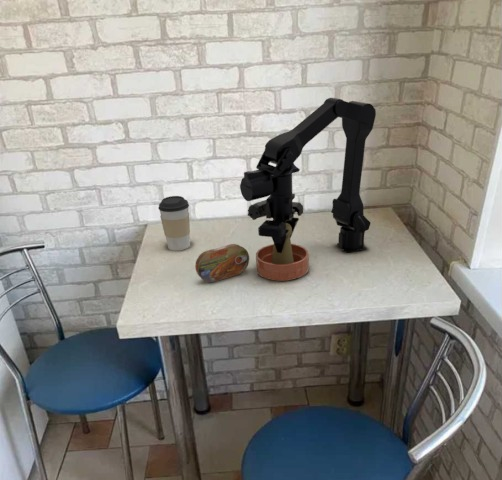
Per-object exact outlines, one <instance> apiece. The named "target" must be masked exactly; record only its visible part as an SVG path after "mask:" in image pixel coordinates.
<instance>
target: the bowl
mask: <svg viewBox="0 0 502 480" xmlns="http://www.w3.org/2000/svg"><path fill="white" fill-rule="evenodd" d="M273 246H274V243H273V244H268V245H265V246H262V247H261V248H259V249H258V250H257V252H255V266H256V273H257V274H258V275H259V276H260V277H262V278H265V279H268V280H270V281H271V280H272V281H278V282H279V281H280V282H281V281H282V282H283V281H291V280H295V279H296V280H297V279H298V278H301V277H303V276H304V275H306V274H307V273H308V271H309V269H310V253H309V250H308V249H307V248H306V247H304V246H302V245H299V244H296V243H291V247H292V254H293V260H294V263H290V264H272V256H273Z"/></svg>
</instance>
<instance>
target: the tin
mask: <svg viewBox="0 0 502 480" xmlns="http://www.w3.org/2000/svg"><path fill="white" fill-rule="evenodd" d="M249 264H250V254H249V252H248V250H247V249H246V248H245V247H244V246H242V245H239V244H237V243H230V244H227V245H224V246H219V247H215V248H212V249H208V250H205V251H203V252H202V253H200V254H199V255H198V257H197V258H196V260H195V266H194V267H195V272H196V274H197V275H198V277H199V278H200V279H201V280H202V281H204V282H206V283H216V282H218V281H222V280H225V279H228V278H232V277H236V276H239V275H241V274H243V272H245V271H246V270H247V268H248V266H249Z"/></svg>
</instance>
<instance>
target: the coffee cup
mask: <svg viewBox="0 0 502 480" xmlns="http://www.w3.org/2000/svg"><path fill="white" fill-rule="evenodd" d="M189 207H190V204H189V201H188V200H187V199H185V198H184V197H183V196H182V195H171V196H167V197H164V198H162V199H161V201H160V203H159V204H158V210H159V213H160V214H159V215H160V221H161V226H162V230H163V233H164V236H165V240H166V244H167V249H168V250H170V251H182V250H186V249H188V248H189V247H190V246H191V236H190V235H191V228H190V227H191V224H190V223H191V221H190V211H189V209H190V208H189Z"/></svg>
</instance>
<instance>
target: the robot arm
mask: <svg viewBox="0 0 502 480" xmlns="http://www.w3.org/2000/svg"><path fill="white" fill-rule="evenodd" d="M376 114H377V111H376V108H375V107H374V105H373V104H371V103H367V102H363V101H357V100H349V101H345V100H344V99H341V98H337V97H329V98H326V99H325V100H324V102H323V103H322V104H321V105H320V106H319V107H317V108H316V109H315V110H313V112H311V113H310V114H309V115H308V116H307V117H305V118H304V119H303V120H302V121H300V123H298V124H297V125H296V126H295V127H293V128H291V129H290V130H289V131H286V132H283V133H280V134H278V135H276V136H274V137H272V138H271V139H269V140H268V141H267V142H266V143H265V145H264V150H263V152H262V155H261V157H260V158H259V161H258V162H257V164H256V167H255V168H256V169H255V170H248V171H244V172H243V177H242V178H241V180H240V184H239V189H240V193H241V197H242V198H243V199H244V200H245V201H246V202H251V201H255V200H259V199H262V198H266V197H267V198H266V199H264V200H260V201H258V202H254V203H253V204H250V205H249V206H248V209H247V216H248V217H249V218H250V219H252V220H253V221H255V220H257V219H260V218H263V217H265V221H264V222H262V224H260V225H259V226H258V228H257V230H258V236H260V237H268V238H271V240H272V242H273V244H274V245H275V247H276V250H277V252H278V253H282V250H283V248H284V245H285V242H286V239H287V236H288V233H289V230H286V223H288V224H290V225H291V227H292V233H291V235H290V239H291V238H292V236H293V234H294V231H295V230H296V229H295V228H296V226H297V224H298V223H299V220H300V218H299V217H301V216H302V215H303V213H304V205H303V204H302V203H301V202H299V201H298V202H297V201H293V200H294V199H296V194H295V193H293V174H295V173H299V172H300V170H301V169H300V168H299V167H298V166H296V164H295V162H296V161H297V159H299V157H300V156H301V155H302V152H303V149H304V147H305V146H306V145H307V144H308V143H310V142H311V141H312V140H313V139H314V138H315V137H316V136H318V135H319V134H320V133H321V132H322V131H324V130H325V129H326V128H327V127H328V126H330V125H331V124H332V123H333V122H334V121H336V120H337V119H338V118H340V119H341V128H342V131H343V132H344V135H345V140H346V141H345V150H344V161H343V171H342V181H341V182H342V183H341V192H340V194H339V195H338V197H337V198H333V199H332V207H331V212H330V213H331V214H332V218H333V219H334V220H335V223H336V226H339V227H340V229H339V230H340V231H339V232H338V242H337V244H336V246H337V247H338V248H340V249H341V250H342V251H343V252H345V253H347V254H349V253H354V252H358V251H359V252H360V251H364V250H367V246H365V233H366V231H369V229H370V227H371V221H370V220H369V219H368V218H367V217H366V216H365V215H364V213H365V212H364V203H363V201H362V197H361V194H360V191H361V181H362V173H363V167H364V165H363V164H364V157H365V146H366V140H367V138H368V137H369V135H370V134H371V132H372V131H373V129H374V124H375V122H376V121H375V120H376V117H377V116H376ZM270 163H271V164H270ZM272 164H273V165H272ZM296 213H297V216H298V217H295V216H294V215H295V214H296ZM271 219H272V220H271Z"/></svg>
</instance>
